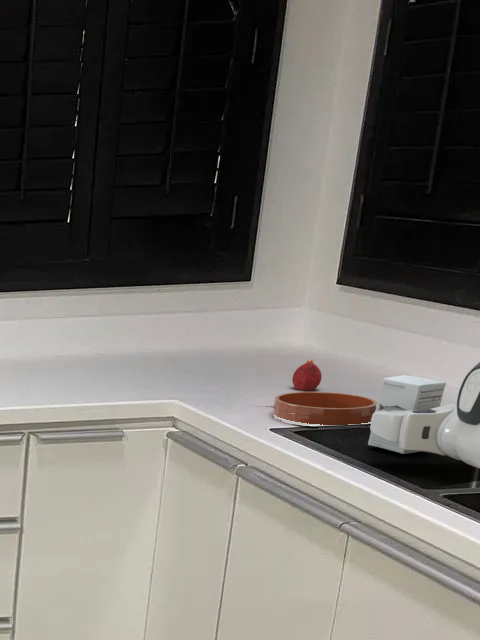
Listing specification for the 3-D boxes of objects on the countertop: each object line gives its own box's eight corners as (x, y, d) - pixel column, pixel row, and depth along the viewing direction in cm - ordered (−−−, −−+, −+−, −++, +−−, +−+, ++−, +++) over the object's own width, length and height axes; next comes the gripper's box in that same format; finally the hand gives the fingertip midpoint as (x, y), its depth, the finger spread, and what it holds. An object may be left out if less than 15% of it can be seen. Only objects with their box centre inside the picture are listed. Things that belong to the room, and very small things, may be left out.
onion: (321, 397, 262) (329, 361, 259) (294, 396, 263) (301, 361, 259) (313, 392, 267) (320, 356, 264) (286, 391, 268) (292, 356, 265)
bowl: (379, 415, 242) (383, 396, 240) (366, 432, 228) (370, 411, 227) (282, 407, 252) (284, 389, 251) (263, 423, 238) (266, 404, 237)
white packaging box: (366, 445, 216) (381, 377, 212) (393, 441, 219) (408, 373, 214) (403, 454, 210) (419, 384, 205) (431, 450, 213) (447, 381, 208)
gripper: (525, 409, 196) (475, 394, 209) (399, 413, 197) (358, 398, 210) (517, 446, 198) (468, 429, 211) (393, 450, 199) (352, 432, 212)
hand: (412, 413), depth 210 cm, fingers open, 8 cm apart
